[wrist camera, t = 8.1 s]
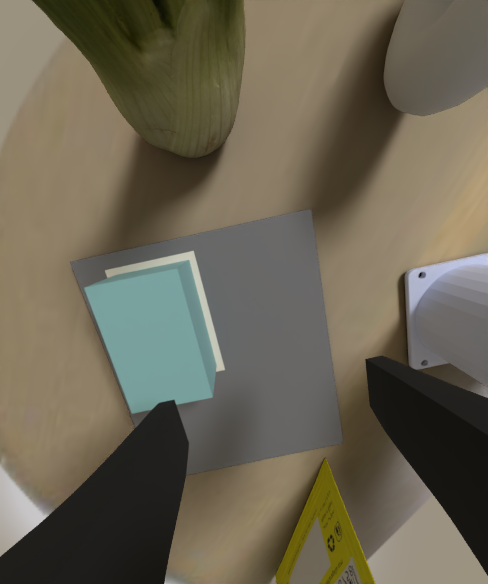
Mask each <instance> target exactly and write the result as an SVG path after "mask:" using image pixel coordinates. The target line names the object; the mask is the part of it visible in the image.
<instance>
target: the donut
mask: <svg viewBox="0 0 488 584" xmlns="http://www.w3.org/2000/svg"><path fill="white" fill-rule="evenodd" d="M384 85H385V89H386V92H387V95H388V98H389V100H390V102H391V104H392V105H393V106H394V107H395V108H396V109H398V110H399V111H402V112H405V113H409V114H412V115H418V116H426V115H431V114H435V113H438V112H441V111H444V110H446V109H449V108H452V107H455V106H458V105H460V104H461V103H463V102H465V101H467V100H468V99H470V98H471V97H473V96H474V95H476V94H478V93H479V92H481V91H482V90H484V89H485V88H487V87H488V0H405V1H404V3H403V6H402V8H401V11H400V13H399V16H398V18H397V21H396V23H395V26H394V30H393V33H392V36H391V40H390V43H389V46H388V50H387V55H386V60H385V68H384Z"/></svg>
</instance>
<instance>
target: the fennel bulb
mask: <svg viewBox="0 0 488 584" xmlns="http://www.w3.org/2000/svg"><path fill="white" fill-rule="evenodd" d="M32 1H33V2H34V3H35V4H36V5H37V6H38V7H40V8H41V10H42V11H44V13H45V14H46V15H47V16H48V17H49V18H50V20H51V21H52V22H53V23H54V24H55V25H56V26H57V28H59V29H60V30H61V31H62V32H63V33H64V34H65V35H66V36H67V37H68V38H69V39H70V40H71V41H72V42H73V43H74V44H75V45H76V47H77V48H78V49H79V50H80V51H81V52H82V54H83V55H84V56H85V57H86V59H87V60H88V61H89V62H90V64H91V65H92V67H93V68H94V70H95V72H96V73H97V75H98V76H99V78H100V80H101V82H102V83H103V84H104V86H105V88H106V90H107V92H108V94H109V95H110V97H111V99H112V101H113V102H114V104H115V105H116V107H117V108H118V110H119V111H120V113H121V114H122V115H123V117H124V118H125V119H126V120H127V122H128V123H129V124H130V125H131V126H132V127H133V128H134V129H135V130H136V132H137V133H138V134H139V135H140V136H141V137H142V138H144V139H145V140H146V141H147V142H148V143H150V144H151V145H154V146H156V147H159V148H162V149H165V150H168V151H171V152H173V153H175V154H177V155H180V156H183V157H187V158H198V157H202V156H206V155H208V154H210V153H211V152H213V151H214V150H216V149H217V148H218V147H220V146H221V145H222V144H223V142H224V141H225V140H226V139H227V137H228V135H229V134H230V132H231V130H232V128H233V125H234V121H235V117H236V112H237V108H238V103H239V95H240V88H241V80H242V72H243V65H244V54H245V37H246V25H245V10H244V0H32Z"/></svg>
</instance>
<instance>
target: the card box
mask: <svg viewBox="0 0 488 584" xmlns="http://www.w3.org/2000/svg"><path fill="white" fill-rule="evenodd" d="M84 289H85V292H86V294H87V297H88V300H89V302H90V305H91V308H92V310H93V313H94V316H95V318H96V321H97V323H98V326H99V329H100V331H101V334H102V337H103V339H104V342H105V344H106V347H107V350H108V352H109V355H110V358H111V360H112V363H113V365H114V368H115V371H116V373H117V376H118V379H119V381H120V384H121V386H122V389H123V392H124V394H125V397H126V400H127V402H128V405H129V408H130V410H131V413H132V414H133V413H138V412H143V411H148V410H152V409H153V408H154V407H155V406H156V405H157V404H158V403H160V402H165V401H170V400H175V402H176V405H178V404H183V403H188V402H193V401H198V400H203V399H208V398H213V392H214V384H215V376H216V367H217V364H216V361H215V357H214V353H213V349H212V345H211V341H210V338H209V334H208V330H207V326H206V322H205V318H204V314H203V311H202V307H201V303H200V299H199V295H198V291H197V287H196V284H195V280H194V276H193V272H192V268H191V264H190V261H189V260H185V261H180V262H175V263H171V264H166V265H161V266H156V267H151V268H147V269H142V270H137V271H132V272H127V273H123V274H118V275H114V276H112V277H109V278H107V279H104V280H102V281H100V282H97V283H95V284H92V285H90V286H87V287H85V288H84Z"/></svg>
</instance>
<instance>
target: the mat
mask: <svg viewBox="0 0 488 584" xmlns="http://www.w3.org/2000/svg"><path fill="white" fill-rule="evenodd" d="M185 260H189V261H190V264H191V268H192V272H193V276H194V280H195V284H196V287H197V291H198V295H199V299H200V303H201V307H202V311H203V314H204V318H205V322H206V326H207V330H208V334H209V338H210V341H211V345H212V349H213V353H214V357H215V361H216V364H217V367H216V376H215V384H214V392H213V398H208V399H203V400H198V401H193V402H188V403H183V404H178V405H177V408H178V411H179V414H180V417H181V420H182V423H183V426H184V429H185V432H186V435H187V438H188V441H189V451H188V462H187V471H186V475H191V474H196V473H201V472H206V471H211V470H216V469H221V468H225V467H230V466H235V465H240V464H245V463H250V462H255V461H260V460H264V459H269V458H274V457H279V456H284V455H289V454H294V453H299V452H303V451H308V450H313V449H318V448H323V447H328V446H333V445H337V444H342V443H343V437H342V429H341V422H340V415H339V407H338V400H337V393H336V385H335V378H334V371H333V363H332V356H331V349H330V341H329V334H328V327H327V319H326V312H325V305H324V297H323V290H322V283H321V275H320V268H319V261H318V253H317V246H316V239H315V231H314V224H313V217H312V209H307V210H303V211H298V212H294V213H289V214H285V215H280V216H276V217H271V218H266V219H262V220H257V221H253V222H248V223H244V224H239V225H235V226H230V227H226V228H221V229H217V230H212V231H208V232H203V233H199V234H194V235H190V236H185V237H181V238H176V239H172V240H167V241H163V242H158V243H153V244H149V245H144V246H140V247H135V248H131V249H126V250H122V251H117V252H113V253H108V254H104V255H99V256H95V257H90V258H86V259H81V260H77V261H72V262H70V264H71V266H72V269H73V271H74V274H75V276H76V279H77V281H78V284H79V286H80V289H81V292H82V294H83V297H84V299H85V302H86V304H87V307H88V309H89V312H90V314H91V317H92V319H93V322H94V324H95V327H96V329H97V332H98V334H99V337H100V340H101V342H102V345H103V347H104V350H105V352H106V355H107V357H108V360H109V362H110V365H111V367H112V370H113V372H114V375H115V377H116V380H117V382H118V385H119V388H120V390H121V393H122V395H123V398H124V400H125V403H126V405H127V408H128V410H129V413H130V415H131V418H132V420H133V423H134V425H135V428H136V427H137V426H138V425H139V424H140V422H141V421H142V420H143V419H144V418H145V417H146V416H147V415H148V413H149V412H150V411H151V410H148V411H143V412H138V413H133V414H132V413H131V410H130V408H129V405H128V402H127V400H126V397H125V394H124V392H123V389H122V386H121V384H120V381H119V379H118V376H117V373H116V371H115V368H114V365H113V363H112V360H111V358H110V355H109V352H108V350H107V347H106V344H105V342H104V339H103V337H102V334H101V331H100V329H99V326H98V323H97V321H96V318H95V316H94V313H93V310H92V308H91V305H90V302H89V300H88V297H87V294H86V292H85V289H84V288H85V287H87V286H90V285H92V284H95V283H97V282H100V281H102V280H104V279H107V278H109V277H112V276H114V275H118V274H123V273H127V272H132V271H137V270H142V269H147V268H151V267H156V266H161V265H166V264H171V263H175V262H180V261H185Z"/></svg>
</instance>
